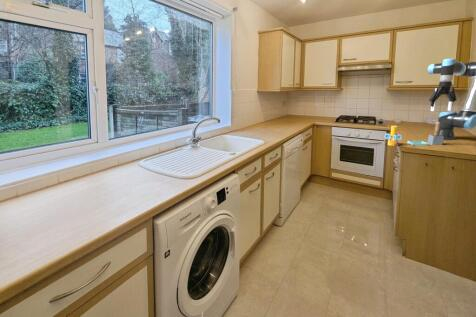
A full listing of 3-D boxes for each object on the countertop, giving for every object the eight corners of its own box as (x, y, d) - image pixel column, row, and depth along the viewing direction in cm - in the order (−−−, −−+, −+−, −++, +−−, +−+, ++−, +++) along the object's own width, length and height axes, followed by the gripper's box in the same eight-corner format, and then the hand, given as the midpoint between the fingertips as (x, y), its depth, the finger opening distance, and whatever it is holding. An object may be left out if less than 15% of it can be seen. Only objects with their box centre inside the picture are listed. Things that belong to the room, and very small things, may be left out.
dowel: (433, 143, 215) (436, 121, 210) (437, 143, 212) (441, 121, 208) (431, 143, 213) (435, 121, 209) (436, 144, 211) (440, 122, 206)
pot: (436, 144, 216) (438, 134, 214) (442, 146, 209) (443, 136, 207) (427, 144, 217) (428, 134, 215) (432, 146, 210) (433, 136, 208)
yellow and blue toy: (402, 147, 208) (404, 127, 204) (387, 146, 210) (389, 127, 206) (396, 143, 220) (399, 125, 216) (382, 143, 222) (384, 124, 218)
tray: (421, 144, 217) (422, 141, 216) (428, 146, 207) (429, 143, 207) (406, 144, 218) (407, 140, 218) (412, 146, 209) (413, 143, 208)
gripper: (457, 81, 205) (452, 109, 211) (425, 81, 203) (421, 110, 208) (466, 80, 198) (460, 110, 203) (433, 81, 196) (429, 111, 201)
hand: (440, 110), depth 206 cm, fingers open, 13 cm apart
